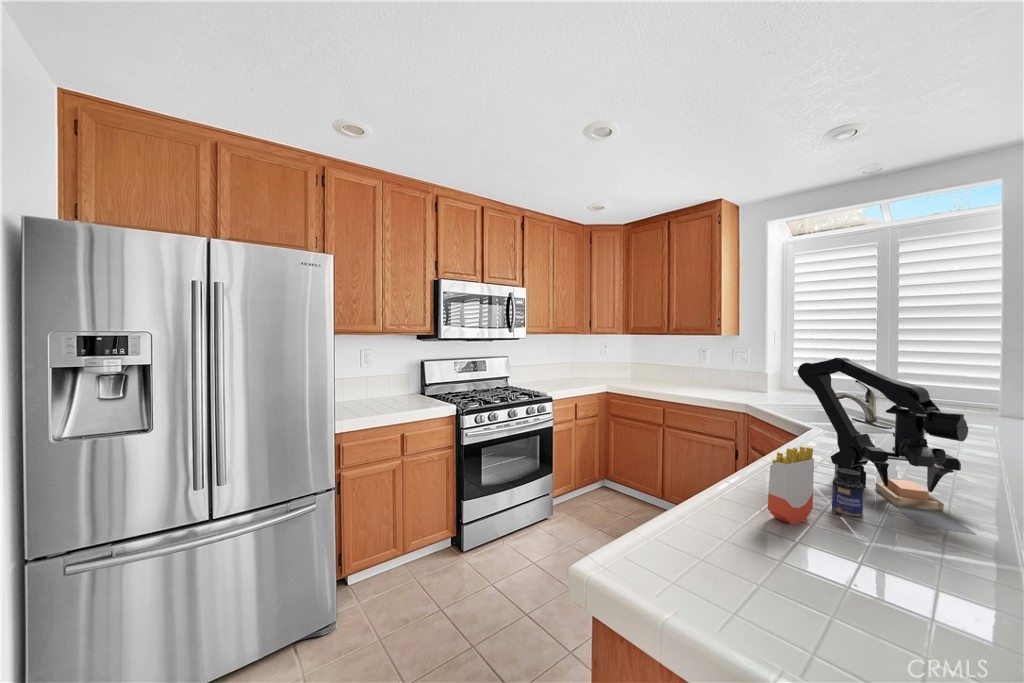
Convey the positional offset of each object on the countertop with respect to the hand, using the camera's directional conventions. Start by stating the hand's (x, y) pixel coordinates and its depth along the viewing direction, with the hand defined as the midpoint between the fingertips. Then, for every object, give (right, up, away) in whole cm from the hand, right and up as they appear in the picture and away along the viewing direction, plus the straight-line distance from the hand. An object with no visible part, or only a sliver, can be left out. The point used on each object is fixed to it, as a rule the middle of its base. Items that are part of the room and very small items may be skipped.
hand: (907, 489), depth 110 cm
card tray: (0, -3, 0) cm, 3 cm away
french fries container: (-40, -4, -11) cm, 41 cm away
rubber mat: (-2, -4, -5) cm, 7 cm away
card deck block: (0, -2, 0) cm, 2 cm away
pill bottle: (-23, -4, -8) cm, 25 cm away
